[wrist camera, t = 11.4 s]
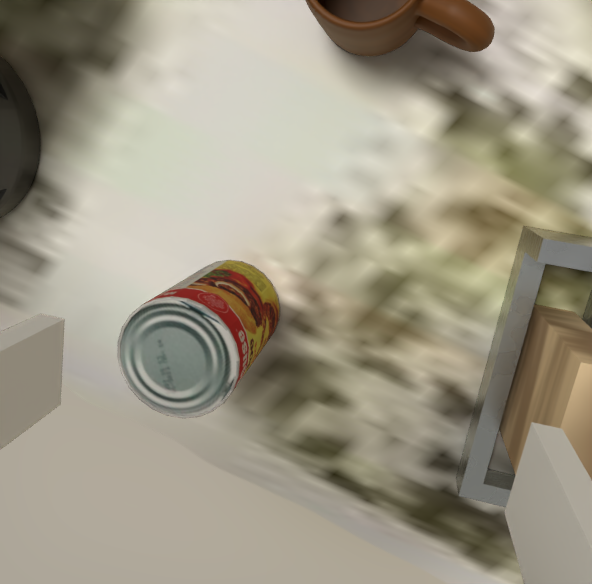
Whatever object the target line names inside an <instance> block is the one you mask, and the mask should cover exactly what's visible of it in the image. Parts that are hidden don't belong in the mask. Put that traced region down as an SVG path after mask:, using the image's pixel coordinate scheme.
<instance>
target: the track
mask: <svg viewBox="0 0 592 584" xmlns="http://www.w3.org/2000/svg"><path fill="white" fill-rule="evenodd" d="M545 264H550V265H556V266H561V267H567V268H572V269H578V270H583V271H589V272H592V238H590V237H585V236H579V235H573V234H568V233H562V232H556V231H551V230H545V229H539V228H533V227H528V226H523V230H522V234H521V238H520V241H519V245H518V249H517V253H516V256H515V260H514V264H513V267H512V271H511V275H510V279H509V282H508V286H507V290H506V294H505V297H504V301H503V305H502V309H501V312H500V316H499V320H498V323H497V327H496V331H495V335H494V338H493V342H492V346H491V350H490V353H489V357H488V361H487V365H486V368H485V372H484V376H483V379H482V383H481V387H480V391H479V394H478V398H477V402H476V406H475V409H474V413H473V417H472V421H471V424H470V428H469V432H468V435H467V439H466V443H465V447H464V450H463V454H462V458H461V462H460V465H459V469H458V473H457V477H456V482H457V488H458V495H459V496H461V497H465V498H470V499H474V500H478V501H482V502H486V503H490V504H494V505H499V506H503V507H506V506H507V502H508V499H509V496H510V492H511V489H512V486H513V482H514V479H515V475H511V474H507V473H502V472H498V471H494V470H490V469H487V468H488V465H489V461H490V458H491V454H492V451H493V447H494V444H495V440H496V437H497V433H498V430H499V426H500V423H501V419H502V416H503V412H504V408H505V405H506V401H507V398H508V394H509V391H510V387H511V384H512V380H513V377H514V373H515V370H516V366H517V363H518V359H519V356H520V352H521V349H522V345H523V342H524V338H525V334H526V331H527V327H528V324H529V320H530V317H531V313H532V310H533V306H534V303H535V299H536V296H537V292H538V289H539V285H540V282H541V278H542V275H543V271H544V268H545ZM582 320H583V321H584V322H585V323H586V324H587V325H588V326H589V327H590V328H592V290H591V293H590V297H589V300H588V303H587V306H586V309H585V313H584V316H583V319H582Z"/></svg>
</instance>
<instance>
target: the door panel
mask: <svg viewBox="0 0 592 584" xmlns="http://www.w3.org/2000/svg"><path fill="white" fill-rule="evenodd" d="M532 422H533V423H538V424H542V425H547V426H552V427H556V428H561V429H563V431H564V433H565V434H566V436H567V438H568V440H569V441H570V443H571V445H572V447H573V448H574V450H575V452H576V454H577V455H578V457H579V459H580V461H581V462H582V464H583V466H584V468H585V469H586V471H587V473H588V475H589V476H590V478H591V480H592V328H590V327H589V326H588V325H587V324H586V323H585V322H584V321H583V320H582V319H581V318H580V317H579V316H578V315H577V314H576V313H575V312H572V311H567V310H562V309H557V308H552V307H546V306H541V305H536V304H534V306H533V310H532V313H531V317H530V320H529V324H528V327H527V331H526V334H525V338H524V342H523V345H522V349H521V352H520V356H519V359H518V363H517V366H516V370H515V373H514V377H513V380H512V384H511V387H510V391H509V394H508V398H507V401H506V405H505V408H504V412H503V416H502V419H501V423H500V426H499V429H500V432H501V435H502V438H503V441H504V443H505V446H506V449H507V452H508V455H509V458H510V461H511V463H512V466H513V469H514V472H515V475H516V473H517V469H518V466H519V463H520V459H521V456H522V453H523V449H524V446H525V443H526V439H527V436H528V433H529V429H530V426H531V423H532Z"/></svg>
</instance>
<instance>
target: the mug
mask: <svg viewBox="0 0 592 584" xmlns="http://www.w3.org/2000/svg"><path fill="white" fill-rule="evenodd" d="M306 2H307V5H308V7H309V8H310V10H311V11H312V13H313V15H314V16H315V18H316V19H317V21H318V22H319V24H320V25H321V27H322V28H323V29H324V30H325V32H326V33H327V35H328V36H329V37H330V38H331V39H332V40H333V41H334V42H335V43H336V44H337V45H338V46H340V47H341V48H342V49H344V50H346V51H348V52H350V53H353V54H356V55H361V56H378V55H383V54H386V53H389V52H391V51H393V50H395V49H397V48H399V47H400V46H402V45H403V44H404V43H406V42H407V41H408V40H409V39H410V38H411V37H412V36H413V34H414V33H415V32H416V31H417V29H421V30H423V31H426V32H428V33H430V34H432V35H434V36H435V37H437V38H439V39H441V40H442V41H444V42H446V43H448V44H450V45H452V46H455V47H457V48H459V49H462V50H465V51H469V52H478V51H482V50H483V49H485V48H487V47H488V46H489V45H490V44H491V42H492V40H493V37H494V25H493V23H492V21H491V19H490V18H489V17H488V16H487V15H486V14H485V13H484V12H483V11H482V10H480V9H479V8H478V7H476V6H475V5H473V4H472V3H470V2H469V1H467V0H306Z"/></svg>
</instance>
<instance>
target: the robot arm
mask: <svg viewBox="0 0 592 584" xmlns="http://www.w3.org/2000/svg"><path fill="white" fill-rule="evenodd" d="M39 152H40V136H39V127H38V122H37V117H36V113H35V110H34V107H33V104H32V101H31V99H30V96H29V94H28V92H27V90H26V88H25V86H24V85H23V83H22V81H21V80H20V78H19V77H18V75H17V74H16V72H15V71H14V70H13V69H12V67H11V66H10V65H9V64H8V63H7V62H6V61H5V60H4V59H3V58H2V57H1V56H0V217H2V216H4V215H5V214H7V213H8V212H10V211H11V210H12V209H13V208H15V207H16V206H17V205H18V204H19V202H20V201H21V200H22V199H23V198H24V196H25V195H26V193H27V192H28V190H29V188H30V186H31V184H32V182H33V179H34V176H35V173H36V170H37V166H38V161H39ZM63 340H64V319H62V318H57V317H53V316H48V315H44V314H39V315H36V316H34V317H32V318H30V319H28V320H25V321H23V322H21V323H19V324H17V325H14V326H12V327H10V328H8V329H6V330H3V331H1V332H0V449H2V448H3V447H5V446H6V445H7V444H9V443H10V442H11V441H13V440H14V439H15V438H17V437H18V436H19V435H21V434H22V433H23V432H25V431H26V430H27V429H28V428H30V427H31V426H33V425H34V424H35V423H37V422H38V421H39V420H41V419H42V418H43V417H45V416H46V415H47V414H49V413H50V412H51V411H52V410H54V409H55V408H57V407H58V406H59V405H60V404H61V383H62V361H63ZM504 513H505V516H506V520H507V523H508V527H509V531H510V534H511V538H512V541H513V545H514V548H515V552H516V556H517V559H518V563H519V566H520V570H521V574H522V577H523V581H524V584H592V480H591V478H590V476H589V475H588V473H587V471H586V469H585V468H584V466H583V464H582V462H581V461H580V459H579V457H578V455H577V454H576V452H575V450H574V448H573V447H572V445H571V443H570V441H569V440H568V438H567V436H566V434H565V433H564V431H563V429H561V428H556V427H552V426H547V425H542V424H538V423H533V422H532V423H531V426H530V429H529V433H528V436H527V439H526V443H525V446H524V449H523V453H522V456H521V459H520V463H519V466H518V469H517V473H516V476H515V479H514V482H513V486H512V489H511V492H510V496H509V499H508V502H507V506H506V509H505V512H504Z"/></svg>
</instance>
